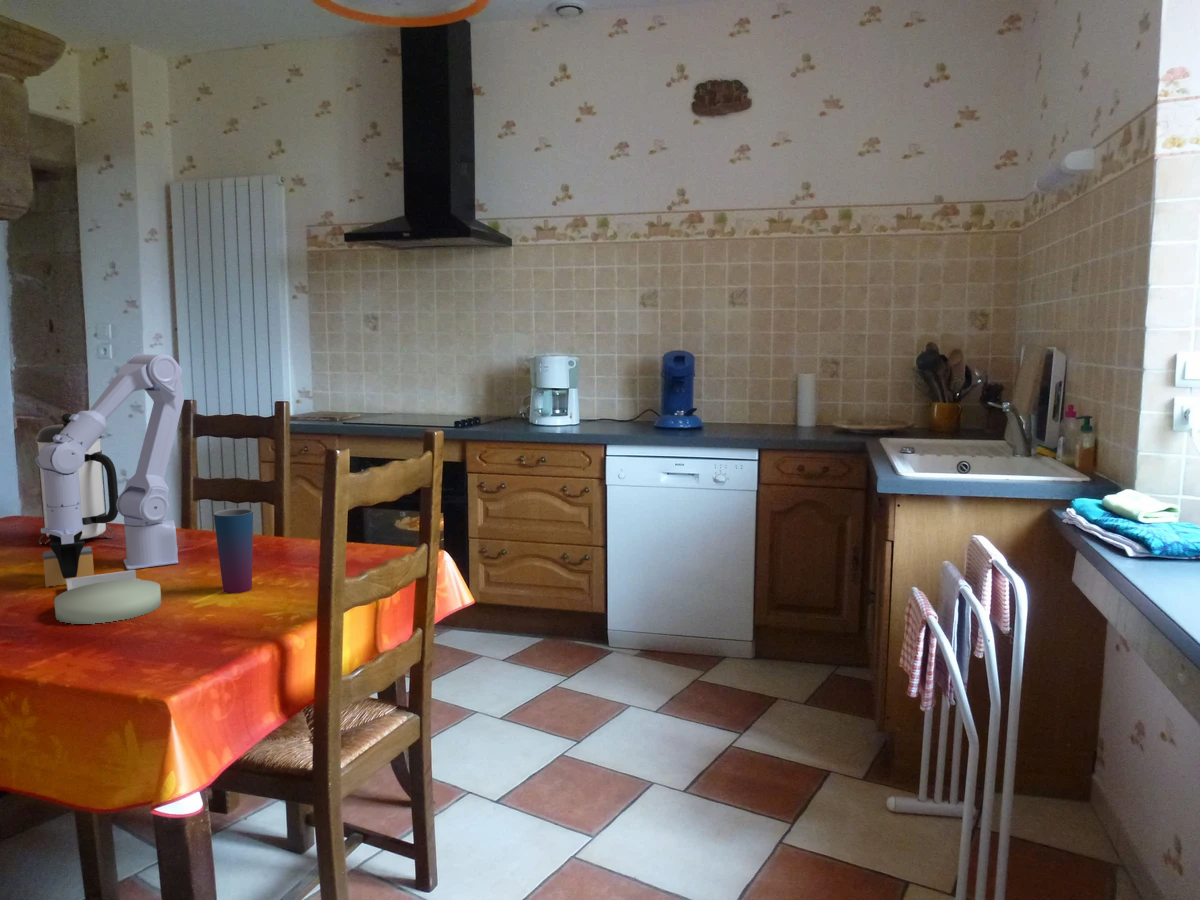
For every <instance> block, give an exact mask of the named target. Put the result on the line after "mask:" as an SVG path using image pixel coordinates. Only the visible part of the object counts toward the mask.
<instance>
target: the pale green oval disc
mask: <svg viewBox="0 0 1200 900" xmlns="http://www.w3.org/2000/svg"><path fill="white" fill-rule="evenodd" d="M136 571H137V570H136V569H130V570H124V571H123V570H121V571H117V572H116V571H115V572H108V573H101V574H94V575H92V576H85V577H77V578H70V579H66V590H65V591H63V592H62V593H60V594H58V595H57V596H55V598H54V610H55V611H54V614H55V618H56V619H55V620H57V621H58V620H59V621H58V622H60V623H62V622H65V623H64V624H66V623H71V624H70V625H74V624H92V625H96V624H95V623H103V624H106V623H105V622H111V623H114V622H113V621H117V622H119V621H118V620H123V621H126V620H125V619H127V620H130V618H131V619H135V618H138V616H139V617H141V615H142V616H144V614H145V615H146V614H147V615H148V614H149V613H151V612H154V611H155V610H157V609H159V606H161V605H162V593H161V585H160V584H159V583H158V582H156V581H152V580H146V579H140V578H137V573H136ZM153 610H154V611H153ZM134 617H135V618H134Z"/></svg>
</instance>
